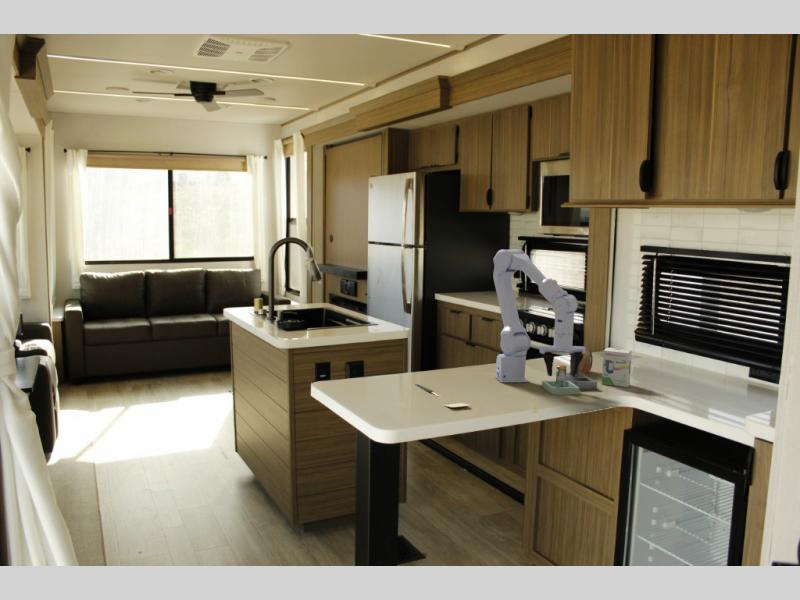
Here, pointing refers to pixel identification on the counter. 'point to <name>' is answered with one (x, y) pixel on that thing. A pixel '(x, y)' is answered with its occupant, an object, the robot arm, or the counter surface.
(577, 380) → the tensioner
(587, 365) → the tin
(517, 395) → the counter surface
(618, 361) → the ink box
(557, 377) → the pin
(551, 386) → the tray
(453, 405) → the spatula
